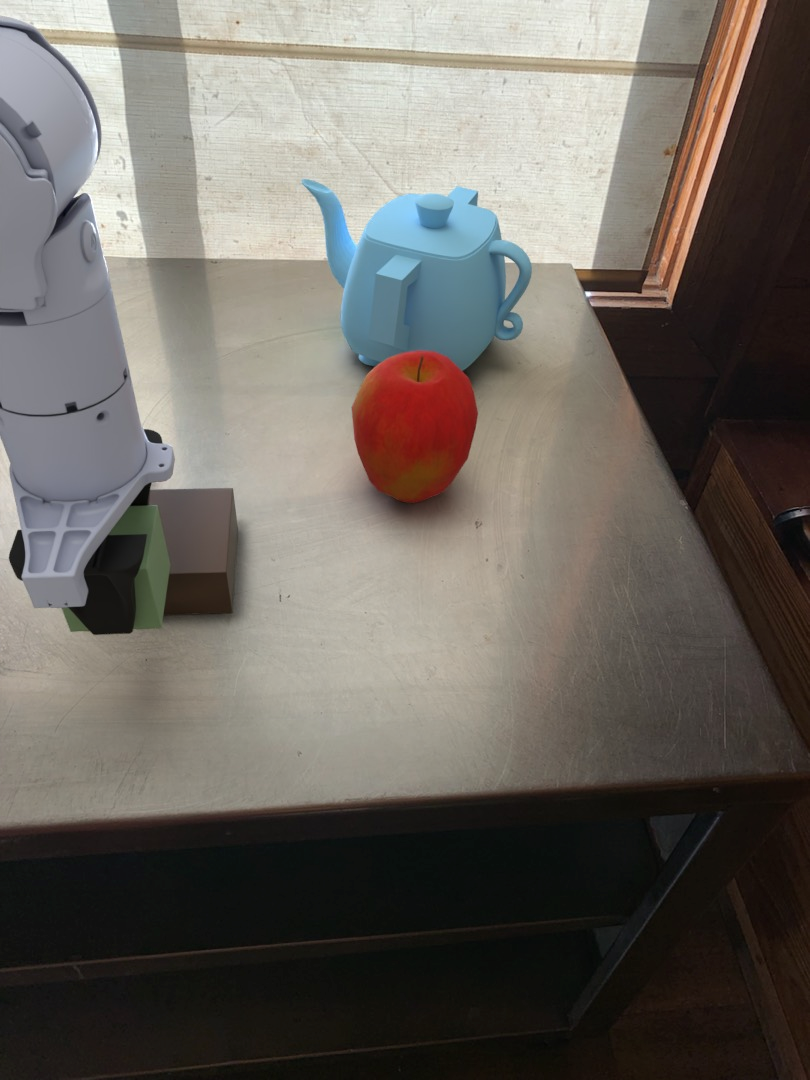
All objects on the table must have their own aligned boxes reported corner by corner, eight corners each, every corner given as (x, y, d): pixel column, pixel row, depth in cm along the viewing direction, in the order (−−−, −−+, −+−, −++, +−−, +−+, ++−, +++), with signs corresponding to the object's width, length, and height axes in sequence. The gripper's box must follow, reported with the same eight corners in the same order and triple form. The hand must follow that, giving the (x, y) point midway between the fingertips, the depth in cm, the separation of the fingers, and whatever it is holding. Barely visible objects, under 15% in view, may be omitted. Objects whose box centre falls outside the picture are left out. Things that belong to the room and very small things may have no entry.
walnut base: (106, 618, 51) (93, 576, 48) (124, 531, 57) (113, 489, 54) (232, 613, 52) (226, 572, 49) (238, 528, 58) (233, 487, 55)
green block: (70, 632, 41) (47, 572, 38) (86, 567, 44) (66, 506, 41) (161, 628, 41) (146, 569, 38) (170, 564, 45) (157, 504, 41)
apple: (394, 437, 66) (402, 307, 58) (487, 480, 63) (511, 349, 55) (326, 496, 61) (325, 361, 52) (425, 546, 57) (441, 411, 49)
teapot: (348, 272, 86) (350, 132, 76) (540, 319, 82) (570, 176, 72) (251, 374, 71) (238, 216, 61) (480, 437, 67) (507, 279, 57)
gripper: (133, 489, 28) (184, 702, 38) (174, 291, 38) (206, 498, 48) (-78, 494, 27) (29, 710, 37) (21, 289, 37) (85, 501, 47)
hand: (120, 591), depth 42 cm, fingers closed on green block, 4 cm apart
